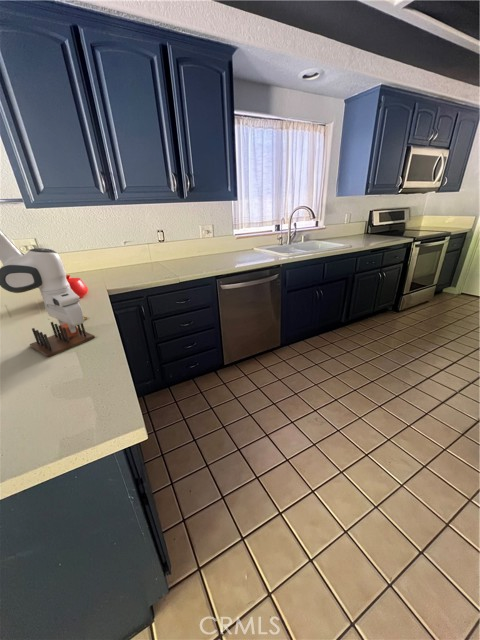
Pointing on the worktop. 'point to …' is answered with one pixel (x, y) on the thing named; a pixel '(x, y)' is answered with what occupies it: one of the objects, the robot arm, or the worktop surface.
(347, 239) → the worktop surface
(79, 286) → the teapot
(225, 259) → the worktop surface
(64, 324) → the block
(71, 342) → the dish rack
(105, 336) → the worktop surface
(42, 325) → the worktop surface
